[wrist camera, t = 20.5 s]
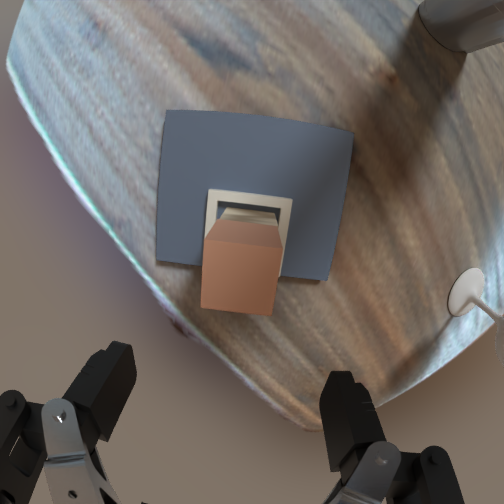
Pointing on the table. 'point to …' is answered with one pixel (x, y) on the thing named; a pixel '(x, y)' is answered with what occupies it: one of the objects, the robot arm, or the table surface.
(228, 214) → the birch block
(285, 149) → the grey board
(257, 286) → the terracotta block
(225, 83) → the table surface
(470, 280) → the wineglass
